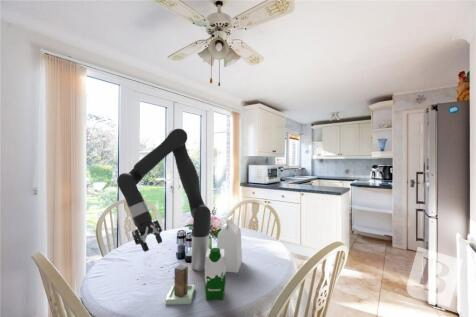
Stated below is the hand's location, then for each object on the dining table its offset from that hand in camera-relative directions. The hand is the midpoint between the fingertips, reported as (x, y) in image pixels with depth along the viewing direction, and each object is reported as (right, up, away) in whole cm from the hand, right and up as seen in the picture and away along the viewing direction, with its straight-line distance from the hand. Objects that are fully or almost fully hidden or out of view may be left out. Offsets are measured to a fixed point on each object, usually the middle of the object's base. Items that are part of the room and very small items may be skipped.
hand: (153, 246), depth 98 cm
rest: (+14, -18, -7) cm, 24 cm away
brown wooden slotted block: (+14, -17, -7) cm, 23 cm away
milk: (+34, -18, +19) cm, 43 cm away
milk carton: (+28, -18, -6) cm, 34 cm away
